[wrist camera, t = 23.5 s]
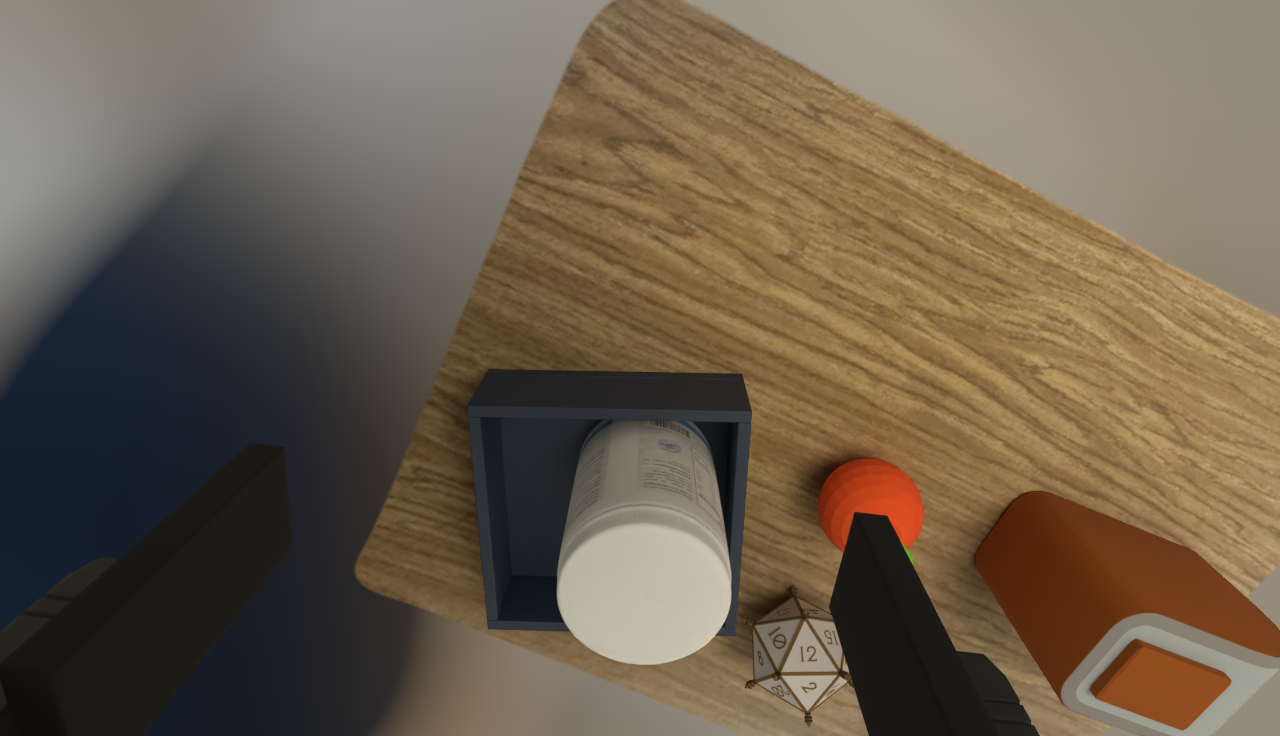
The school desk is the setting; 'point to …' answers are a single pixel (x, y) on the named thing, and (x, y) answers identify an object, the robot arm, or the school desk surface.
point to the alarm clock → (1126, 619)
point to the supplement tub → (644, 543)
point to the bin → (547, 462)
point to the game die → (798, 655)
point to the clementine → (870, 500)
